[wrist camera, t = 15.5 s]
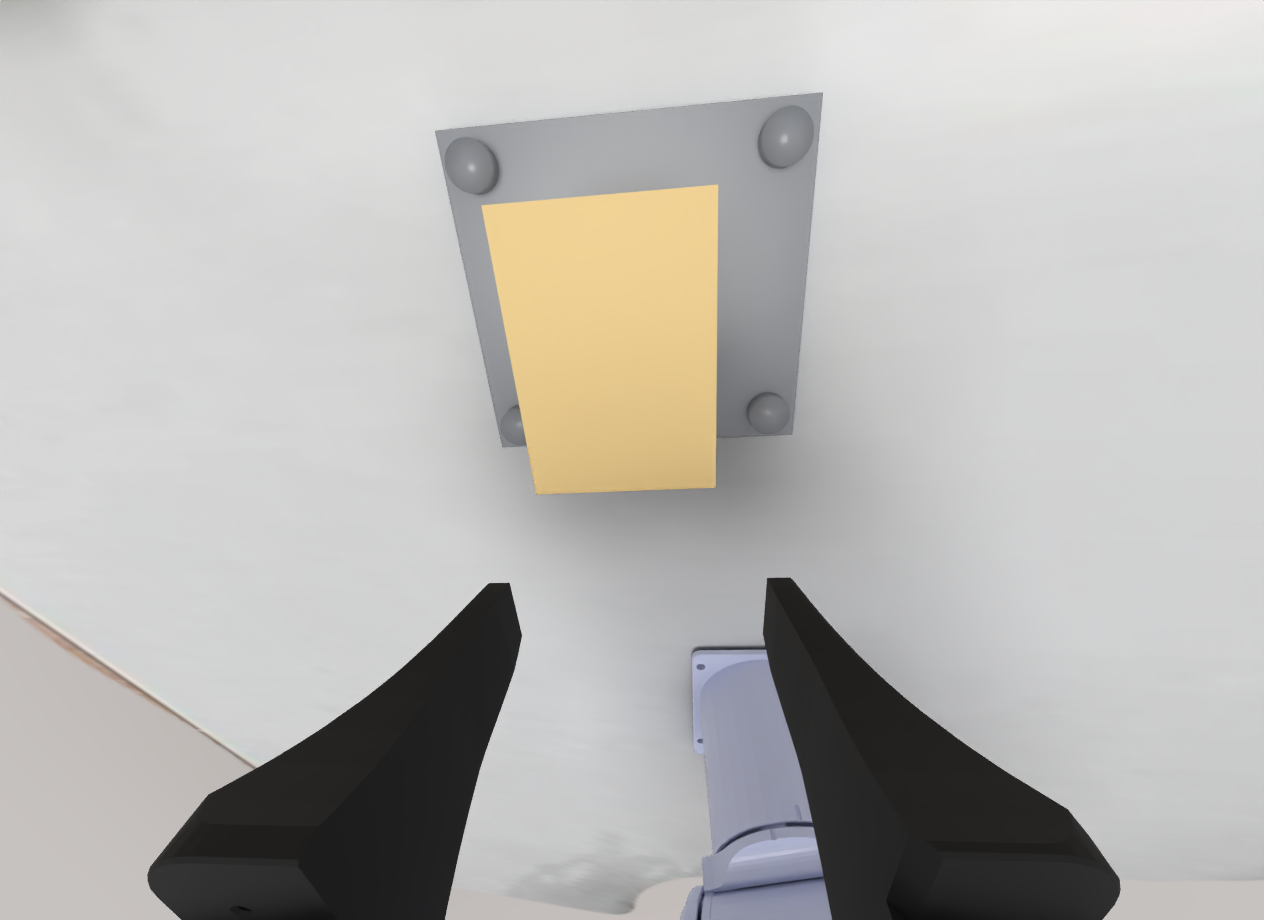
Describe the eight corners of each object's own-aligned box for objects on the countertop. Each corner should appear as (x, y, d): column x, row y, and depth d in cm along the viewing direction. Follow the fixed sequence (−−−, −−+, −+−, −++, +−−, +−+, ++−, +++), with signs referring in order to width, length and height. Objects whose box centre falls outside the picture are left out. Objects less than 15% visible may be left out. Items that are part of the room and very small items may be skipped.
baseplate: (786, 425, 21) (797, 441, 19) (508, 438, 22) (496, 454, 20) (813, 100, 16) (831, 85, 14) (447, 136, 17) (424, 126, 15)
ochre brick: (698, 413, 15) (715, 487, 11) (570, 420, 15) (535, 494, 11) (696, 201, 12) (718, 184, 8) (542, 214, 13) (481, 205, 8)
